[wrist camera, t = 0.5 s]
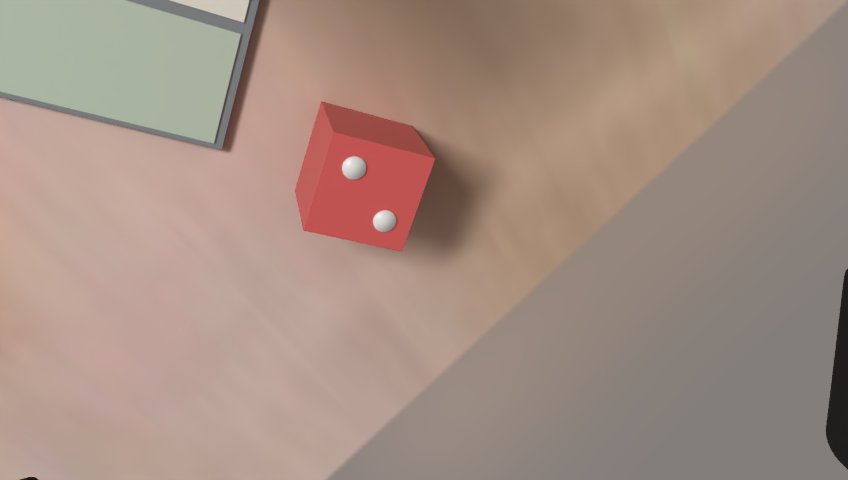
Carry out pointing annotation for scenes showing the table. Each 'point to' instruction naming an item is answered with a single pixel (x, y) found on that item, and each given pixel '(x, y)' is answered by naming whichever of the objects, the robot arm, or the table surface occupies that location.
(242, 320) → the table surface
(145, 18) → the striped board
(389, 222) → the red die
